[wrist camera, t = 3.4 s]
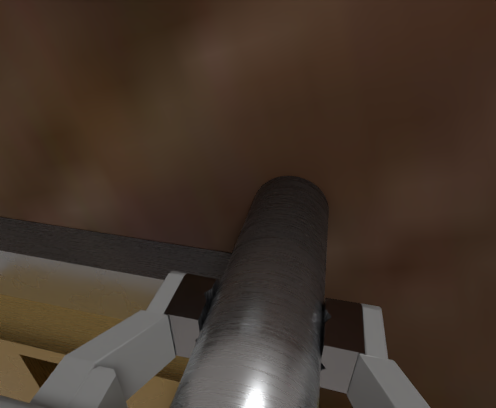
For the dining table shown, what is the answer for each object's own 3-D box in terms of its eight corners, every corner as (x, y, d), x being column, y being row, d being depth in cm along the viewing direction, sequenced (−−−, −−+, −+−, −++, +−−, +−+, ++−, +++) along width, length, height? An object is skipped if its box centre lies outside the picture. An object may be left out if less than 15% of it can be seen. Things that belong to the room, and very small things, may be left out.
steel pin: (346, 172, 13) (364, 761, 3) (331, 251, 15) (315, 746, 5) (244, 162, 14) (1, 609, 4) (245, 239, 16) (89, 651, 6)
